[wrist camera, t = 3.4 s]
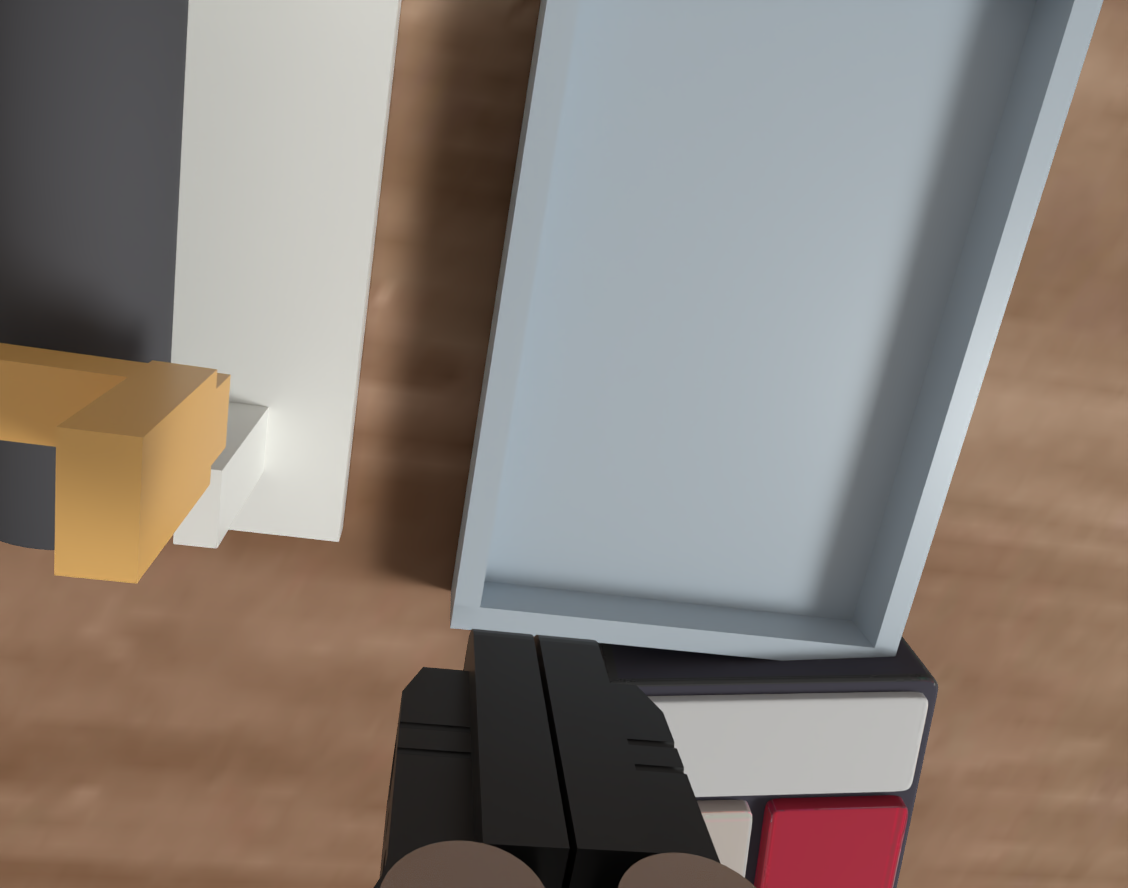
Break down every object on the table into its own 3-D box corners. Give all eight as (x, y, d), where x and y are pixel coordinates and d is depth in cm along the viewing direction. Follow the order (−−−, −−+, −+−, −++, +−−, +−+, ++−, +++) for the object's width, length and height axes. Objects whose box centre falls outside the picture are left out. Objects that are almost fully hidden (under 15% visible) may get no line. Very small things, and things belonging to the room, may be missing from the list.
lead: (23, -232, 19) (-84, -326, 15) (220, -186, 20) (164, -266, 16) (22, 476, 24) (-60, 539, 20) (183, 495, 24) (131, 558, 20)
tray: (563, -147, 24) (574, -178, 21) (1059, -28, 26) (1117, -45, 24) (450, 591, 30) (450, 627, 28) (859, 634, 32) (890, 671, 30)
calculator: (582, 1051, 32) (601, 699, 27) (571, 946, 36) (587, 622, 31) (879, 1036, 33) (954, 693, 28) (837, 935, 37) (896, 619, 32)
